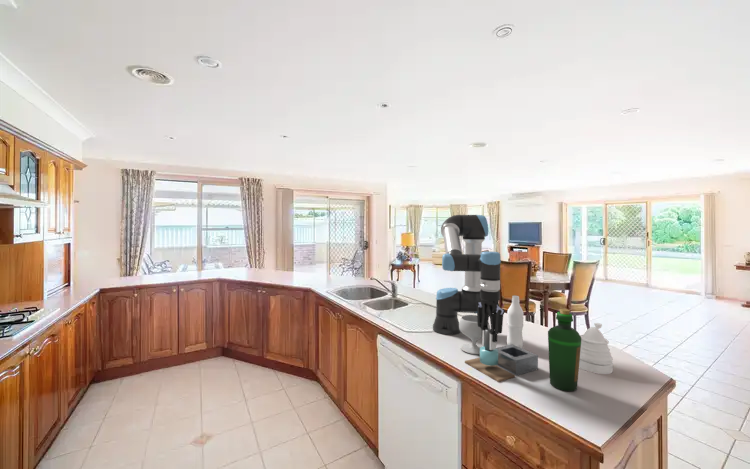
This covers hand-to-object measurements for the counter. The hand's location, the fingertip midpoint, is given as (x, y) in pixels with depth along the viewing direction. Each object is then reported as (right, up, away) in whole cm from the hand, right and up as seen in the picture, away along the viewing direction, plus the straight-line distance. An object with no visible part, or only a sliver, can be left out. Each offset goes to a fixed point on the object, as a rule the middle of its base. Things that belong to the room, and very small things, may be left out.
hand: (489, 347), depth 125 cm
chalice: (0, -9, +20) cm, 22 cm away
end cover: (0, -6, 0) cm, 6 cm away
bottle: (+22, -10, -12) cm, 27 cm away
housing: (+12, -9, +3) cm, 15 cm away
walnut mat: (0, -9, 0) cm, 9 cm away
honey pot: (+45, -10, +4) cm, 46 cm away
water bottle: (+21, -9, +23) cm, 33 cm away
